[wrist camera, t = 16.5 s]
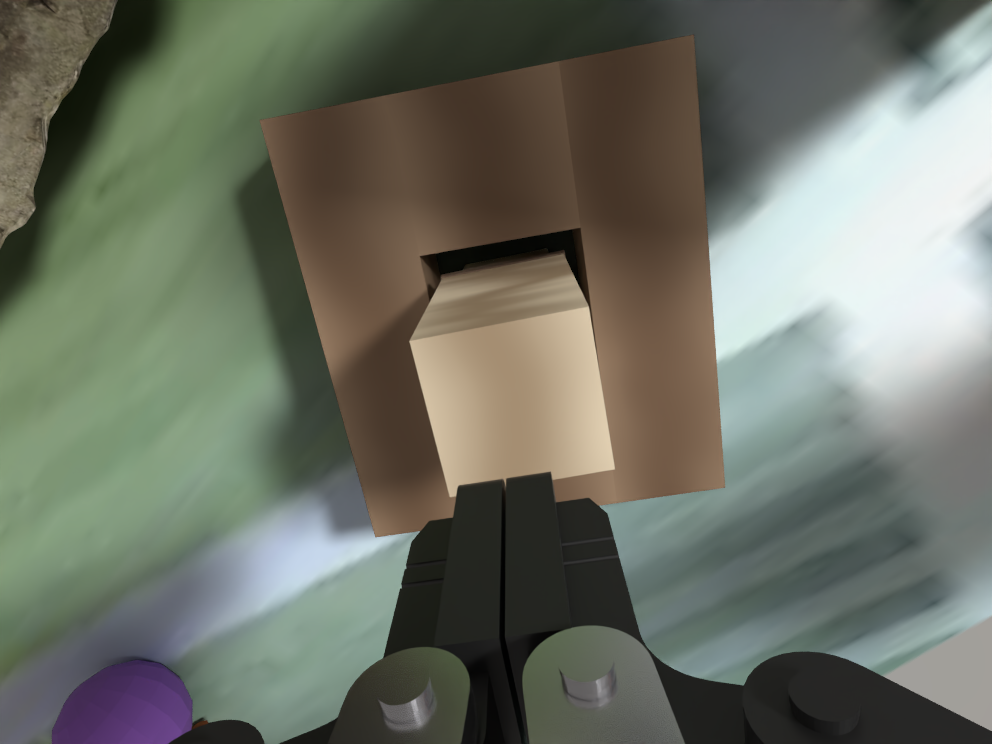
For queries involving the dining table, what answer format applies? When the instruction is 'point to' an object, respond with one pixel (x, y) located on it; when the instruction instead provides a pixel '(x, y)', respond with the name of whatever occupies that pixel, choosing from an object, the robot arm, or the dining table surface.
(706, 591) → the dining table surface
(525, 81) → the seat board
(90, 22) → the hollow geode rock
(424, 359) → the beech leg
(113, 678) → the kendama
